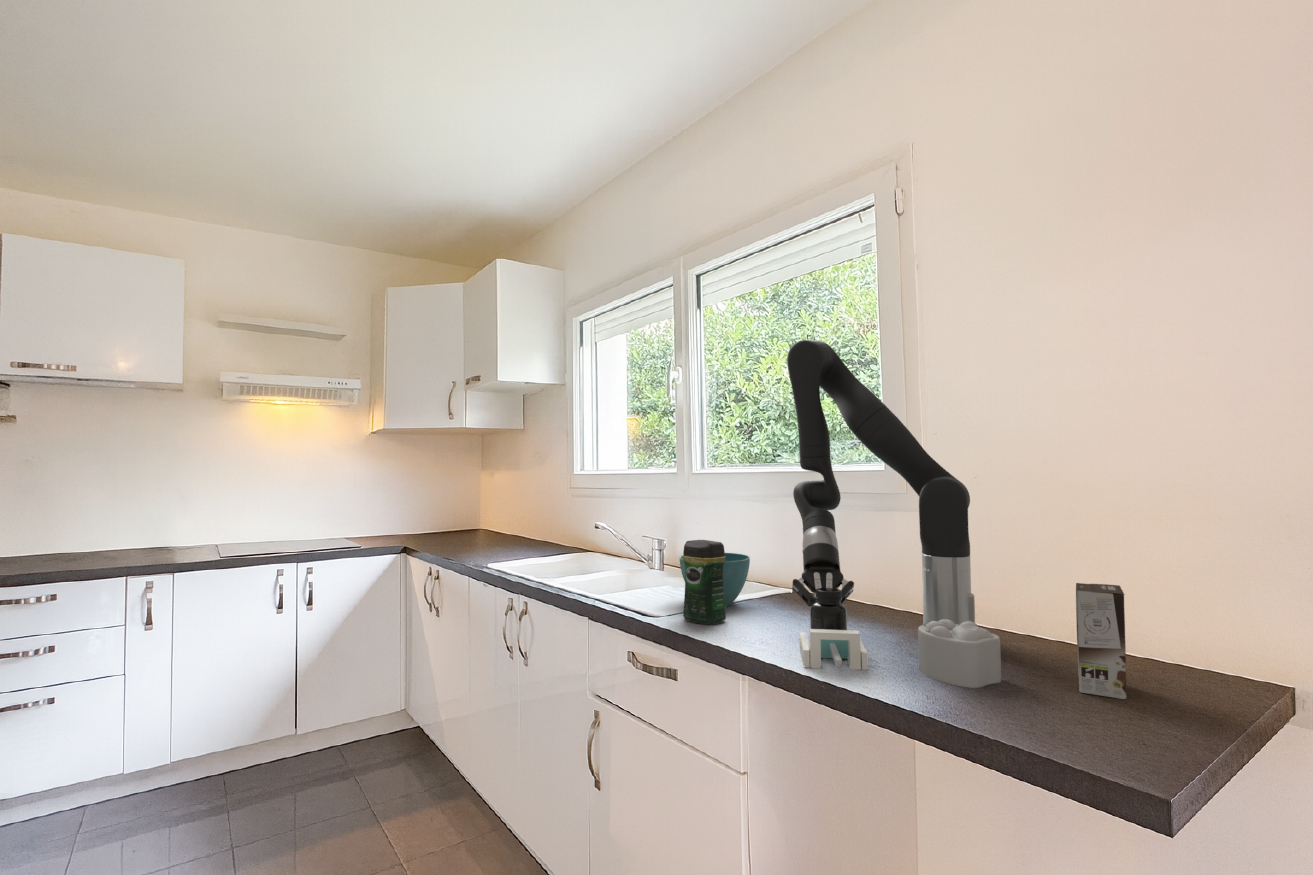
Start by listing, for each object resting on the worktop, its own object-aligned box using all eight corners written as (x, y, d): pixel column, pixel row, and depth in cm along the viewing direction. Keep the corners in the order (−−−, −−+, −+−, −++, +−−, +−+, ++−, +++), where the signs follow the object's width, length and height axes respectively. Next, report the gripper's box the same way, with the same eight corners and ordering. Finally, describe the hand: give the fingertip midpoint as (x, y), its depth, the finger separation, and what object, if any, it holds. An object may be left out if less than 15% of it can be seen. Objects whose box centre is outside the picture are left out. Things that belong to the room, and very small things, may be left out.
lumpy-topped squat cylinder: (968, 690, 107) (967, 635, 107) (903, 668, 118) (902, 619, 119) (1009, 680, 112) (1008, 627, 112) (942, 660, 124) (941, 612, 124)
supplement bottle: (850, 658, 125) (849, 593, 125) (812, 657, 125) (811, 592, 126) (844, 648, 131) (843, 586, 132) (808, 647, 132) (808, 585, 133)
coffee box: (1128, 700, 102) (1124, 593, 103) (1078, 693, 105) (1075, 589, 106) (1124, 684, 110) (1121, 584, 110) (1078, 677, 113) (1075, 581, 114)
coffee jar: (731, 621, 155) (731, 540, 156) (708, 627, 149) (708, 543, 150) (700, 614, 162) (700, 537, 163) (677, 619, 156) (677, 539, 157)
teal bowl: (705, 614, 162) (705, 563, 162) (666, 601, 178) (666, 554, 178) (764, 606, 171) (764, 558, 171) (722, 594, 187) (722, 550, 187)
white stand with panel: (857, 649, 130) (857, 617, 131) (867, 669, 118) (867, 634, 118) (799, 647, 132) (799, 615, 132) (803, 667, 119) (803, 631, 120)
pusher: (854, 657, 124) (853, 635, 125) (863, 677, 113) (863, 653, 113) (809, 655, 126) (809, 633, 126) (814, 675, 114) (814, 651, 114)
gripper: (789, 540, 144) (791, 611, 131) (853, 542, 141) (861, 614, 129) (789, 561, 149) (790, 631, 136) (850, 563, 146) (858, 634, 134)
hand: (825, 623), depth 133 cm, fingers closed
